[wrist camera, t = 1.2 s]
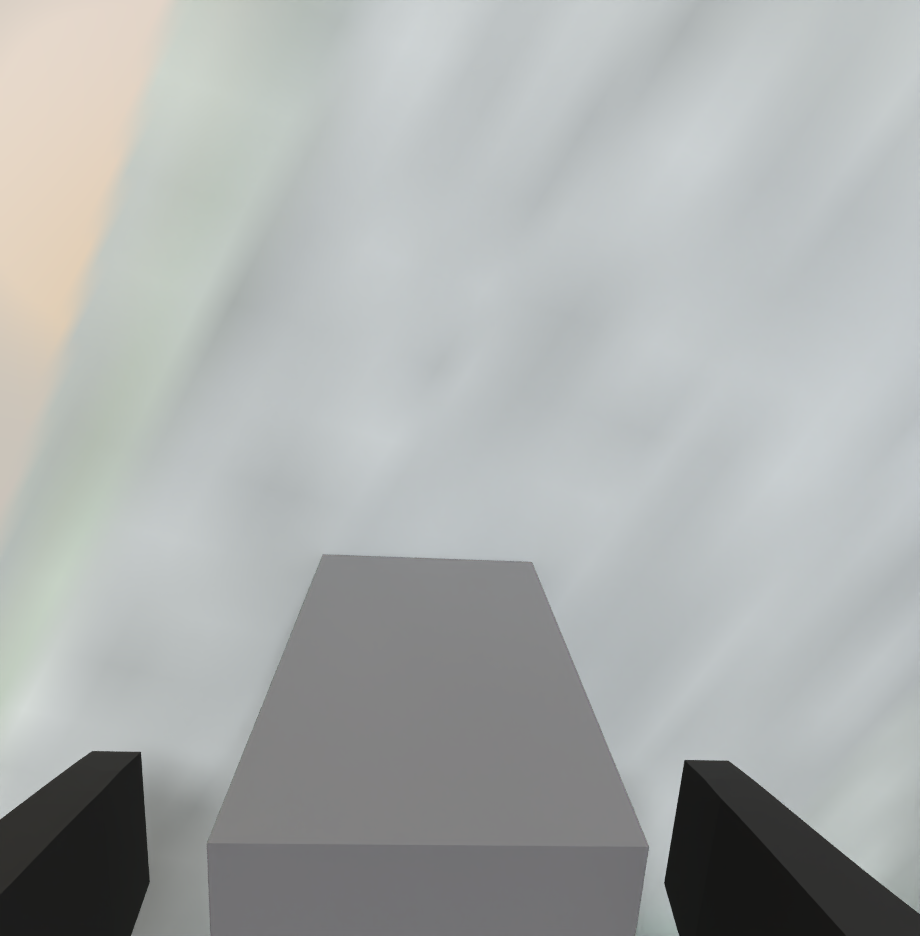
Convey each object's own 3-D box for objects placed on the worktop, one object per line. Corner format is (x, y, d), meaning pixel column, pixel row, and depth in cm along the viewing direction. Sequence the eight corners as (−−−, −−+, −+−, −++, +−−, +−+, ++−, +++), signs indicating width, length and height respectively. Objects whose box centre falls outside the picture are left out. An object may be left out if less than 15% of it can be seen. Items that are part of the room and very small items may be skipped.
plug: (531, 561, 11) (649, 847, 5) (505, 846, 13) (576, 1317, 7) (322, 554, 11) (206, 842, 5) (319, 844, 12) (226, 1330, 6)
